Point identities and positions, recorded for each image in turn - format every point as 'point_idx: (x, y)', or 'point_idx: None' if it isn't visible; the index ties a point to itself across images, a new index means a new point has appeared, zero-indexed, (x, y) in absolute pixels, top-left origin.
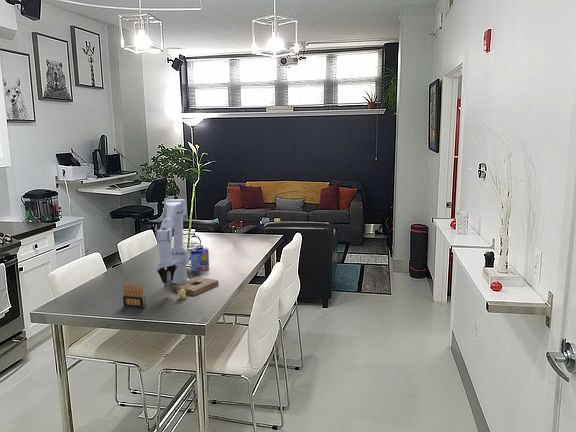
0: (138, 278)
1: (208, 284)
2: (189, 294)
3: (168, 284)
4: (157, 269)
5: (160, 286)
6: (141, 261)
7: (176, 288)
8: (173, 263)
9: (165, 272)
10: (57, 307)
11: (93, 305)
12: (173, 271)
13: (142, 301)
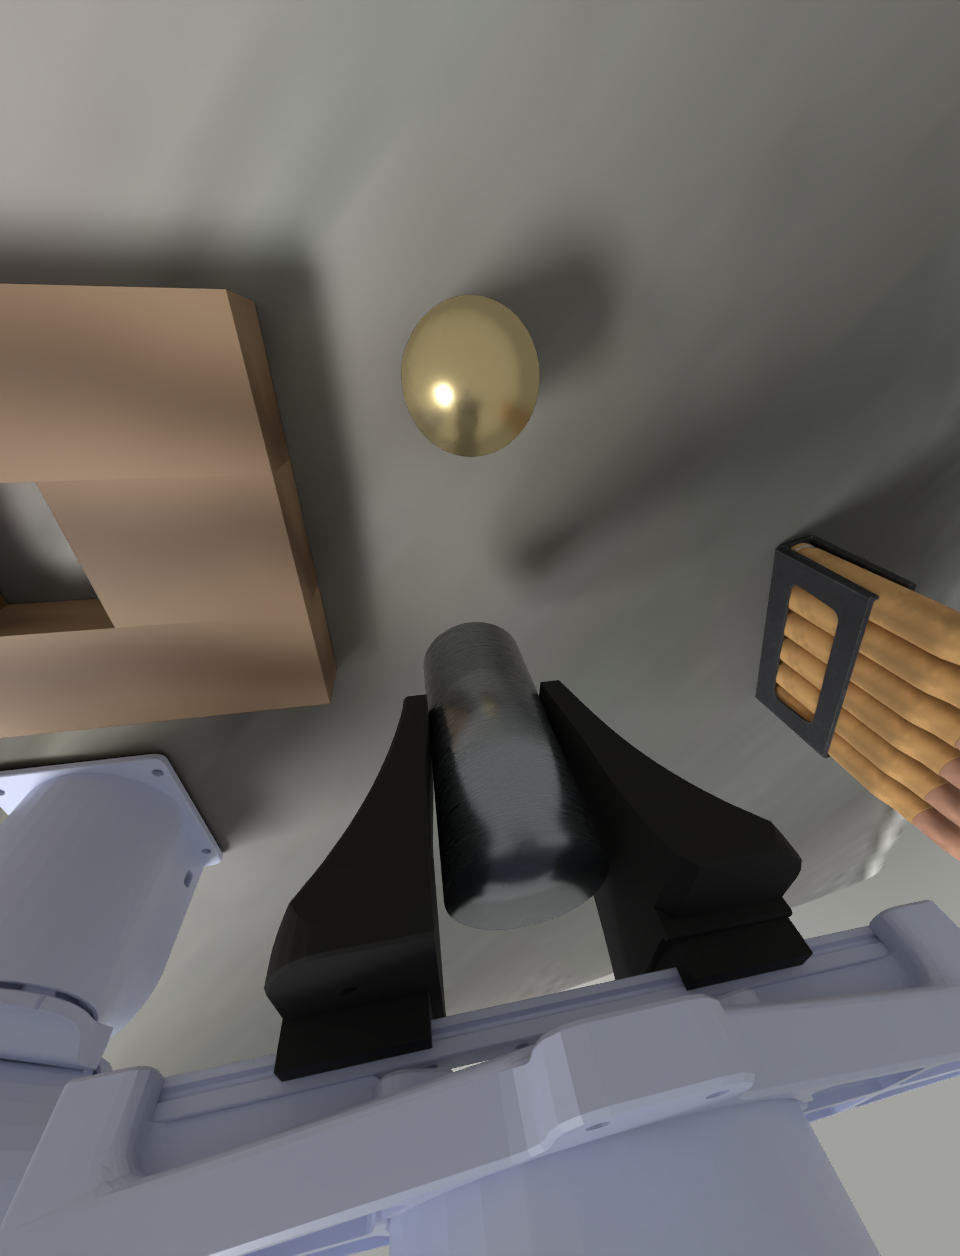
0: None
1: None
2: (279, 413)
3: (510, 653)
4: (936, 944)
5: (333, 818)
6: None
7: (322, 648)
8: (421, 1127)
9: (696, 812)
10: (819, 871)
11: (782, 807)
12: (407, 817)
13: (871, 566)
